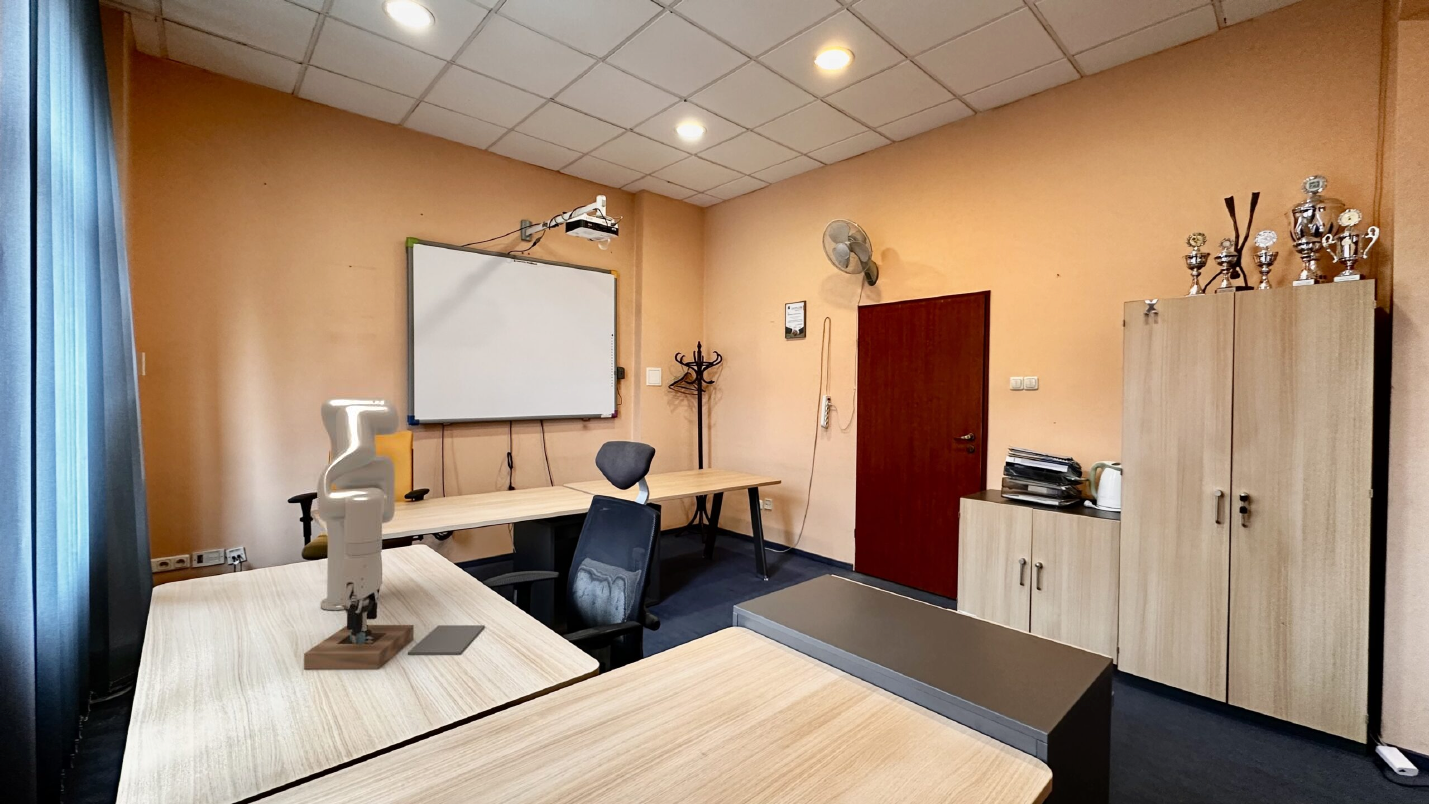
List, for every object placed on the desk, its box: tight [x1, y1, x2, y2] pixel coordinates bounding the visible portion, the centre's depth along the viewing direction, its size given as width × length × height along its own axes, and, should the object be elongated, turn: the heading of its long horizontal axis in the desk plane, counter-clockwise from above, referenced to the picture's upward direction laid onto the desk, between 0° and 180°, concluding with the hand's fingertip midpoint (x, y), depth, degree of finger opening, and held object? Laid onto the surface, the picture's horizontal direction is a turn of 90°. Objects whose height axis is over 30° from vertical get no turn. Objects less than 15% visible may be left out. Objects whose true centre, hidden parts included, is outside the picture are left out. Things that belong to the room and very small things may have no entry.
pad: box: [407, 624, 486, 656], centre depth 142 cm, size 16×12×1 cm
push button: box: [350, 597, 373, 644], centre depth 134 cm, size 7×5×10 cm
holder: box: [303, 624, 415, 670], centre depth 134 cm, size 16×16×4 cm
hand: (362, 623), depth 134 cm, fingers closed on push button, 5 cm apart
